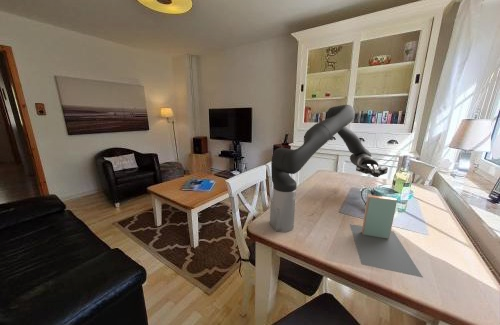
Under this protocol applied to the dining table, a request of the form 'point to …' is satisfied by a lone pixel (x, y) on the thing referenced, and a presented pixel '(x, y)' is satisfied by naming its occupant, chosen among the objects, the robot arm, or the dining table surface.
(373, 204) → the glazed tile
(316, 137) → the robot arm
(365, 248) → the mat
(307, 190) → the dining table surface
